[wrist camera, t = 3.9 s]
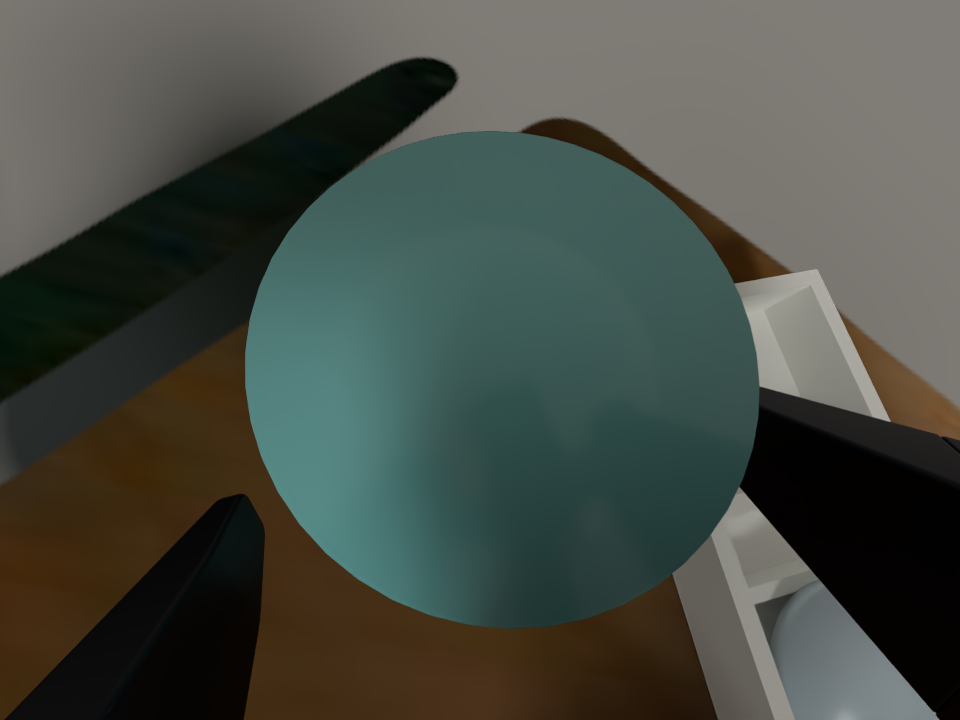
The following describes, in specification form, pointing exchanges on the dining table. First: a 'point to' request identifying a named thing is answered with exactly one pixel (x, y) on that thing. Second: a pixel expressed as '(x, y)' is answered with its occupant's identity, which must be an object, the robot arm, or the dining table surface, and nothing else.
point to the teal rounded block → (502, 379)
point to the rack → (788, 551)
